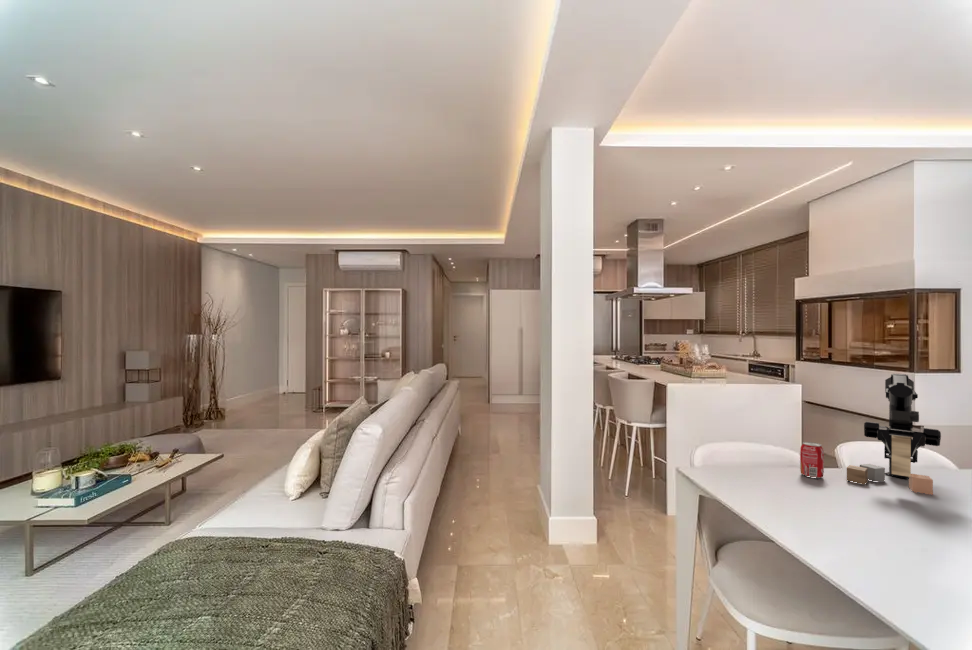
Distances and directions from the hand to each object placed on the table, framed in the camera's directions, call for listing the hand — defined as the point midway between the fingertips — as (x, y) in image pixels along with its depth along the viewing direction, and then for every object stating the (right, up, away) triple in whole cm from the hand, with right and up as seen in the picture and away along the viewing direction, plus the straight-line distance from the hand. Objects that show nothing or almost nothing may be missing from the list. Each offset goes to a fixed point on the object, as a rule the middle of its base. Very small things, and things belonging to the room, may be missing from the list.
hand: (901, 454), depth 146 cm
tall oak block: (+1, -7, +1) cm, 7 cm away
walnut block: (-3, -14, +14) cm, 20 cm away
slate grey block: (+5, -14, +16) cm, 22 cm away
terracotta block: (+11, -14, +5) cm, 18 cm away
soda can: (-16, -14, +19) cm, 28 cm away
